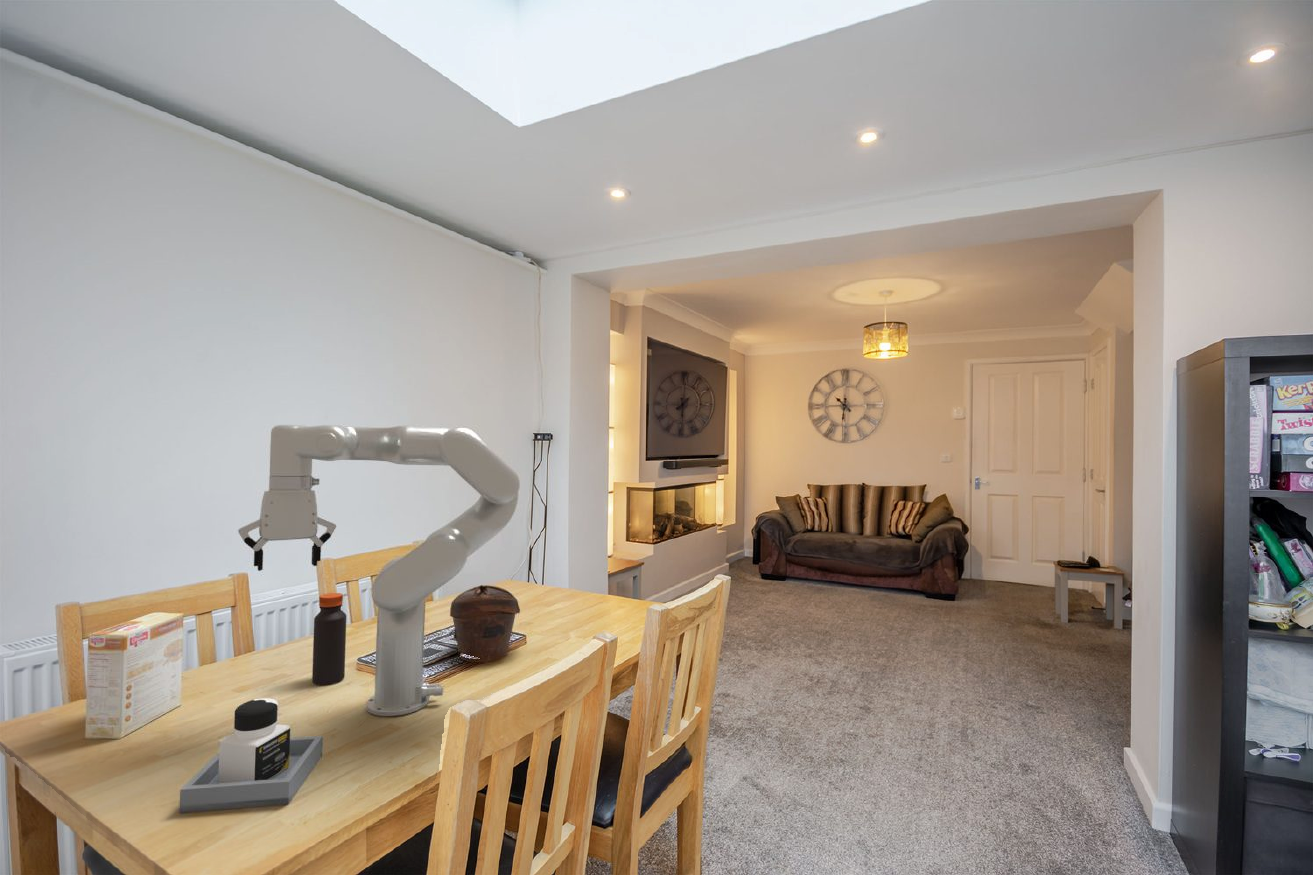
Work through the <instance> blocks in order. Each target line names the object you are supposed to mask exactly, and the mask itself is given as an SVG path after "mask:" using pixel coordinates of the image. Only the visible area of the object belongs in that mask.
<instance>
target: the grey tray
mask: <svg viewBox="0 0 1313 875" xmlns="http://www.w3.org/2000/svg"><path fill="white" fill-rule="evenodd" d="M323 745H324V735H315V736H314V735H313V736H311V735H310V736H299V737H298V736H297V737H290V754H289V767H288V768H287V769H285V770H284V771H282V772H281V773H279V774H278V775H276V776H275V777H273V778H272V779H270V780H258V781H245V782H232V783H218V771H219V752H217V754H215V755H214V756H213V757H212V759H210V760H209V762H207V763H206V764H205V765H204V766H203V767H202V768H201V769H200V770H199V771H198V772H197V773H196V774H195V775H194V776H193V777H191V779H190V780H188V781H187V782H186V784H184V786H183V787H181V788H180V790H179V810H178V811H179V812H178V813H179V814H186V813H198V812H210V811H221V810H233V809H234V810H235V809H246V808H255V807H256V808H258V807H269V806H272V807H273V806H282V805H289V804H290V803H291V801H293V798H294V797H295V795H296V794H297V792H298V791H299V790H300V788H301V787H302V785H303V784H304V782H306V780H307V778H308V777H309V775H310V774H311V773H312V771H313V770H314V768H315V767H316V765H317V764H318V763H319V761H320V759H322V757H323V749H324V748H323Z"/></svg>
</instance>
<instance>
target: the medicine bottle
mask: <svg viewBox="0 0 1313 875" xmlns="http://www.w3.org/2000/svg"><path fill="white" fill-rule="evenodd" d="M278 718H279V702H278V701H277V700H276V699H273V698H267V697H263V698H256V699H251V700H249V701H246V702H243V703H242V704H240V705H239V706H237V708H235V710H234V720H233V721H234V722H233V723H234V724H233V733H232V734H229V735H227V736H225V737H223V738H222V739H220V740H219V746H218V748H219V752H218V753H219V771H218V783H232V782H245V781H258V780H270V779H272V778H273V777H275V776H276V775H278V774H279V773H281V772H282V771H284V770H285V769H287V768H288V767H289V754H290V738H291V726H290V725H286V724H278V721H279V719H278Z"/></svg>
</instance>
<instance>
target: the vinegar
mask: <svg viewBox="0 0 1313 875" xmlns="http://www.w3.org/2000/svg"><path fill="white" fill-rule="evenodd" d="M318 598H319V599H318V602H319V603H318V606H319V609H320V611H319V612H318V614H316V616H315V617H314V618H313V641H312V642H313V646H312V647H313V648H312V649H313V650H312V670H311V672H312V674H311V682H312V683H313V685H316V686H329V685H335V684H337V683H340V682H341V681H343V680H344V678H345V677H346V676H345V675H346V672H345V671H346V670H345V669H346V647H347V646H346V642H347V641H346V640H347V614H346V613H345V612H344V611H343V610H342V607H343V602H344V601H343V599H344V594H343V593H339V592H330V593H325V594H321V595H319V597H318Z"/></svg>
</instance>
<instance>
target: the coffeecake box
mask: <svg viewBox="0 0 1313 875" xmlns="http://www.w3.org/2000/svg"><path fill="white" fill-rule="evenodd" d="M184 615H185V613H179V612H178V613H177V612H176V613H175V612H174V613H173V612H172V613H170V612H151V613H148V614H145V615H143V616H142V615H141V616H139V617H136V618H133V619H131V620H128V621H125V622H122V623H118V624H116V625H113V626H110V627H107V628H104V629H101V630H99V631H96V632H92V633H89V634H88V635H87V637H88V638H87V639H88V640H87V642H88V643H87V666H86V667H87V668H86V670H87V672H86V674H87V675H86V699H85V700H86V703H85V704H86V706H85V707H86V709H85V732H84V733H85V734H84V735H85V736H84V738H85V739H116V740H120V739H122V738H124V737H125V736H127V735H129V734H130V733H133V732H134V731H136V730H138V729H140V728H142V727H143V726H146V725H147V724H149V723H151V722H152V721H154V720H157V719H159V718H160V717H162V716H163V715H166V714H167V713H169V712H171V711H172V710H175V709H176V708H178V707H180V706H181V705H182V674H183V642H184V639H183V638H184Z"/></svg>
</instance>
